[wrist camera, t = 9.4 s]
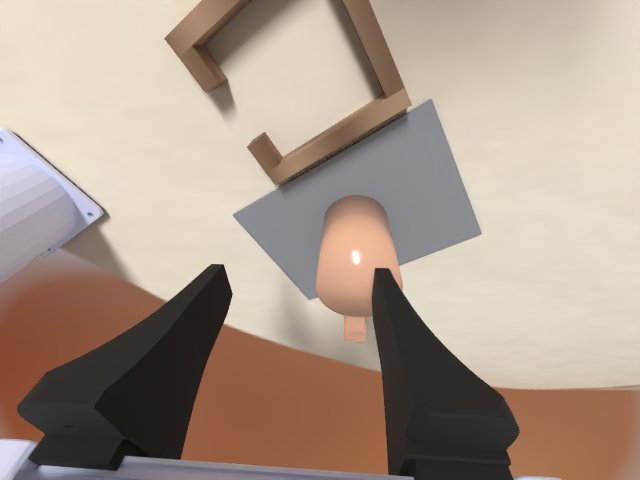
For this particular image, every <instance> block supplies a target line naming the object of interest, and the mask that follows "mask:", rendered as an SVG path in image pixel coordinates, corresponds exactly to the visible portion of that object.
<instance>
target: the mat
mask: <svg viewBox="0 0 640 480" xmlns="http://www.w3.org/2000/svg"><path fill="white" fill-rule="evenodd" d="M350 195H363V196H367V197H370V198H373V199H374V200H376V201H378V202H379V203H380V204H381V205H382V206H383V207H384V209H385V211H386V213H387V216H388V220H389V225H390V229H391V234H392V238H393V242H394V247H395V251H396V256H397V260H398V265H401V264H404V263H407V262H409V261H412V260H415V259H417V258H420V257H422V256H425V255H428V254H430V253H433V252H435V251H438V250H441V249H443V248H446V247H448V246H451V245H454V244H456V243H459V242H462V241H464V240H467V239H469V238H472V237H475V236H477V235H480V234H482V233H481V230H480V228H479V225H478V222H477V220H476V217H475V214H474V212H473V209H472V206H471V203H470V201H469V198H468V195H467V193H466V190H465V187H464V185H463V182H462V179H461V177H460V174H459V171H458V169H457V166H456V163H455V161H454V158H453V155H452V153H451V150H450V147H449V144H448V142H447V139H446V136H445V134H444V131H443V128H442V126H441V123H440V120H439V118H438V115H437V112H436V110H435V107H434V104H433V102H432V100H431V99H430V100H429V101H427V102H425V103H423V104H422V105H420V106H418V107H417V108H415V109H413V110H411V111H410V112H408V113H406V114H405V115H403V116H401V117H399V118H398V119H396V120H394V121H393V122H391V123H389V124H387V125H386V126H384V127H382V128H381V129H379V130H377V131H375V132H374V133H372V134H370V135H369V136H367V137H365V138H363V139H362V140H360V141H358V142H357V143H355V144H353V145H351V146H350V147H348V148H346V149H345V150H343V151H341V152H339V153H338V154H336V155H334V156H332V157H331V158H329V159H327V160H326V161H324V162H322V163H320V164H319V165H317V166H315V167H314V168H312V169H310V170H308V171H307V172H305V173H303V174H302V175H300V176H298V177H296V178H295V179H293V180H291V181H290V182H288V183H286V184H284V185H283V186H281V187H279V188H278V189H276V190H274V191H272V192H271V193H269V194H267V195H266V196H264V197H262V198H260V199H259V200H257V201H255V202H253V203H252V204H250V205H248V206H247V207H245V208H243V209H241V210H240V211H238V212H236V213H235V214H233V216H234V218H235V219H236V220H237V221H238V222H239V223H240V224H241V225H242V226H243V228H244V229H245V230H246V231H247V232H248V233H249V234H250V235H251V236H252V237H253V239H254V240H255V241H256V242H257V243H258V244H259V245H260V246H261V247H262V249H263V250H264V251H265V252H266V253H267V254H268V255H269V256H270V257H271V258H272V260H273V261H274V262H275V263H276V264H277V265H278V266H279V267H280V268H281V270H282V271H283V272H284V273H285V274H286V275H287V276H288V277H289V278H290V280H291V281H292V282H293V283H294V284H295V285H296V286H297V287H298V288H299V289H300V291H301V292H302V293H303V294H304V295H305V296H306V297H307V298H308V299H309V300H310V299H313V298H315V297H318V295H317V292H316V279H317V271H318V262H319V254H320V245H321V237H322V228H323V220H324V216H325V213H326V211H327V209H328V208H329V207H330V206H331V205H332V204H333V203H334V202H335V201H337V200H338V199H340V198H343V197H346V196H350Z"/></svg>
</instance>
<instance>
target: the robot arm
mask: <svg viewBox="0 0 640 480" xmlns="http://www.w3.org/2000/svg"><path fill="white" fill-rule="evenodd" d="M103 214H104V213H103V210H102V209H101V208H100V207H99V206H98V205H97V204H96V203H95V202H93V201H92V200H91V199H90V198H89V197H88V196H86V195H85V194H84V193H83V192H82V191H80V190H79V189H78V188H77V187H76V186H75V185H73V184H72V183H71V182H70V181H69V180H68V179H66V178H65V177H64V176H63V175H62V174H61V173H59V172H58V171H57V170H56V169H55V168H53V167H52V166H51V165H50V164H49V163H48V162H46V161H45V160H44V159H43V158H42V157H41V156H39V155H38V154H37V153H36V152H35V151H34V150H32V149H31V148H30V147H29V146H28V145H27V144H25V143H24V142H23V141H22V140H21V139H19V138H18V137H17V136H16V135H15V134H14V133H12V132H11V131H10V130H8V129H6V128H0V283H2V282H3V281H5V280H6V279H7V278H9V277H10V276H12V275H13V274H14V273H16V272H17V271H18V270H20V269H21V268H23V267H24V266H25V265H26V264H28V263H29V262H31V261H32V260H34V259H35V258H36V257H37V256H39V255H42V256H49V255H50V254H51V253H53V252H54V251H55V250H57V249H58V248H59V247H61V246H62V245H63V244H65V243H66V242H67V241H69V240H70V239H71V238H73V237H74V236H75V235H77V234H78V233H79V232H81V231H82V230H83V229H85V228H86V227H87V226H89V225H90V224H91V223H93V222H94V221H95V220H97V219H98V218H99V217H101V216H102V215H103ZM231 298H232V291H231V287H230V284H229V281H228V277H227V274H226V271H225V268H224V264H211V265H210V266H209V267H207V268H206V269H205V270H204V271H203V272H202V273H201V274H200V275H198V276H197V277H196V278H195V279H194V280H193V281H192V282H191V283H190V284H188V285H187V286H186V287H185V288H184V289H183V290H182V291H180V292H179V293H178V294H177V295H176V296H174V297H173V298H172V299H171V300H169V301H168V302H167V303H166V304H164V305H163V306H162V307H161V308H159V309H158V310H157V311H155V312H154V313H153V314H151V315H150V316H149V317H147V318H146V319H144V320H143V321H141V322H140V323H138V324H137V325H135V326H134V327H132V328H131V329H129V330H127V331H126V332H124V333H122V334H121V335H119V336H117V337H116V338H114V339H113V340H111V341H109V342H107V343H105V344H104V345H102V346H100V347H98V348H96V349H95V350H92V351H90V352H88V353H87V354H85V355H83V356H81V357H79V358H76V359H74V360H72V361H70V362H68V363H66V364H64V365H61V366H59V367H57V368H55V369H53V370H51V371H48V372H46V373H45V375H44V376H43V377H42V378H41V379H40V380H39V382H38V383H37V384H36V385H35V386H34V387H33V389H32V390H31V391H30V392H29V393H28V394H27V395H26V396H25V398H24V399H23V400H22V401H21V402H20V403H19V404H18V407H17V411H18V413H19V415H20V416H21V417H22V418H23V419H24V420H26V421H27V422H29V423H30V424H32V425H33V426H35V427H36V428H37V429H39V430H40V431H42V432H43V433H45V436H44V437H43V438H42V440H41V441H40V442H39V443H37V442H34V441H29V440H17V439H4V438H3V439H0V480H561V479H559V478H554V477H539V476H516V477H513V478H512V475H511V472H510V470H509V467H508V466H510V465H511V462H510V458H509V456H508V453H507V451H506V450H507V448H508V447H509V446H510V445H511V444H512V443H513V442H514V441H515V440H516V438H517V437H518V435H519V433H520V432H519V427H518V425H517V422H516V420H515V418H514V416H513V414H512V412H511V410H510V408H509V407H508V405H507V403H506V402H505V399H504V398H503V396H502V395H501V394H499V393H498V392H497V391H496V390H494V389H493V388H492V387H490V386H489V385H488V384H487V383H485V382H484V381H483V380H481V379H480V378H479V377H478V376H476V375H475V374H474V373H473V372H472V371H471V370H470V369H468V368H467V367H466V366H465V365H464V364H463V363H462V362H461V361H460V360H459V359H458V358H457V357H456V356H454V355H453V354H452V353H451V352H450V351H449V350H448V349H447V348H446V347H445V346H444V345H443V344H442V343H441V341H440V340H439V339H438V338H437V337H436V336H435V335H434V334H433V333H432V332H431V330H430V329H429V328H428V327H427V326H426V324H425V323H424V322H423V321H422V319H421V318H420V317H419V315H418V314H417V313H416V311H415V310H414V309H413V307H412V306H411V304H410V303H409V301H408V300H407V298H406V297H405V295H404V294H403V292H402V291H401V289H400V287H399V285H398V284H397V282H396V280H395V278H394V276H393V274H392V272H391V270H390V269H389V268H375V272H374V281H373V290H372V314H373V323H374V329H375V334H376V340H377V346H378V351H379V357H380V363H381V370H382V380H383V393H384V406H385V420H386V437H387V453H388V472H389V473H388V474H389V475H379V474H365V473H352V472H338V471H325V470H310V469H297V468H284V467H270V466H257V465H243V464H229V463H216V462H202V461H187V460H181V455H182V451H183V446H184V442H185V437H186V433H187V429H188V425H189V421H190V417H191V414H192V410H193V406H194V402H195V399H196V395H197V392H198V388H199V385H200V382H201V378H202V375H203V372H204V369H205V365H206V363H207V360H208V358H209V355H210V353H211V350H212V348H213V346H214V343H215V341H216V339H217V337H218V334H219V332H220V330H221V327H222V325H223V323H224V320H225V318H226V315H227V313H228V309H229V306H230V302H231Z"/></svg>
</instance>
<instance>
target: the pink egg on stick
mask: <svg viewBox="0 0 640 480" xmlns="http://www.w3.org/2000/svg"><path fill="white" fill-rule="evenodd" d="M375 268H389V269H390V270H391V272H392V274H393V276H394V278H395V280H396V282H397V284H398V285H399V287H400V289H401V291H402V290H403V283H402V278H401V273H400V269H399V265H398V260H397V256H396V251H395V247H394V242H393V238H392V234H391V229H390V225H389V220H388V216H387V213H386V211H385V209H384V207H383V206H382V205H381V204H380V203H379V202H378V201H376V200H374V199H373V198H370V197H367V196H363V195H350V196H346V197H343V198H340V199H338V200H337V201H335V202H334V203H333V204H332V205H331V206H330V207H329V208H328V209H327V211H326V213H325V216H324V220H323V228H322V237H321V245H320V254H319V262H318V271H317V279H316V292H317V295H318V297H319V299H320V300H321V302H322V303H323V304H324V305H325V306H326V307H328V308H329V309H331V310H332V311H334V312H336V313H339V314H342V315H344V342H365V341H366V320H365V317H367V316H373V314H372V290H373V281H374V272H375Z"/></svg>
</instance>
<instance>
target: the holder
mask: <svg viewBox="0 0 640 480" xmlns="http://www.w3.org/2000/svg"><path fill="white" fill-rule="evenodd" d="M250 1H251V0H202V1H201V2H200V3H199V4H198V5H197V6H196V7H195V8H194V9H193V10H192V11H191V12H190V13H189V14H188V15H187V16H186V17H185V18H184V19H183V20H182V21H181V22H180V23H179V24H178V25H177V26H176V27H175V28H174V29H173V30H172V31H171V32H170V33H169V34H168V35H167V36H166V37H165V38H164V39H165V40H166V41H167V43H168V44H169V45H170V47H171V48H172V49H173V50H174V52H175V53H176V54H177V56H178V57H179V58H180V60H181V61H182V62H183V64H184V65H185V66H186V68H187V69H188V70H189V72H190V73H191V74H192V75H193V77H194V78H195V79H196V81H197V82H198V83H199V85H200V86H201V87H202V89H203V90H204V91H205V93H207V92H209V91H211V90H214V89H216V88H217V87H218V86H219V85H220V84H222V83H223V82H224V81H225V80H227V78H226V76H225V75H224V74H223V72H222V71H221V69H220V68H219V66H218V65H217V64H216V62H215V61H214V59H213V58H212V56H211V55H210V54H209V52H208V51H207V49H206V48H205V47H204V45H203V44H204V43H205V42H207V41H208V40H209V39H210V38H211V37H212V36H213V35H214V34H215V33H216V32H217V31H218V30H220V29H221V28H222V27H223V26H224V25H225V24H226V23H227V22H228V21H229V20H230V19H231V18H232V17H234V16H235V15H236V14H237V13H238V12H239V11H240V10H241V9H242V8H243V7H244V6H245V5H247V4H248V3H249V2H250ZM343 3H344V5H345V7H346V9H347V11H348V14H349V16H350V18H351V20H352V23H353V25H354V27H355V29H356V31H357V34H358V36H359V38H360V40H361V43H362V45H363V47H364V49H365V51H366V54H367V56H368V58H369V60H370V63H371V65H372V67H373V69H374V71H375V74H376V76H377V78H378V80H379V82H380V85H381V87H382V89H383V91H384V94H383V95H381V96H380V97H378V98H377V99H375V100H373V101H372V102H370V103H369V104H367V105H365V106H364V107H362V108H361V109H359V110H358V111H356V112H354V113H353V114H351V115H350V116H348V117H346V118H345V119H343V120H342V121H340V122H338V123H337V124H335V125H334V126H332V127H330V128H329V129H327V130H326V131H324V132H322V133H321V134H319V135H318V136H316V137H314V138H313V139H311V140H310V141H308V142H307V143H305V144H303V145H302V146H300V147H299V148H297V149H295V150H294V151H292V152H291V153H289V154H287V155H286V156H284V157H282V156H281V154H280V153H279V152H278V150H277V149H276V147H275V146H274V144H273V143H272V142H271V140H270V139H269V137H268V136H267V135H266V133H265V132H264V133H262V134H261V135H259V136H258V137H257V138H255V139H254V140H253V141H252V142H251V143H250V144H249V145H248V146H247V148H248V149H249V151H250V152H251V153H252V155H253V156H254V157H255V158H256V160H257V161H258V162H259V164H260V165H261V166H262V168H263V169H264V170H265V172H266V173H267V174H268V176H269V177H270V178H271V180H272V181H273V182H274V183H275V185H277V184H278V183H280V182H282V181H284V180H285V179H287V178H289V177H290V176H292V175H294V174H295V173H297V172H299V171H300V170H302V169H304V168H306V167H307V166H309V165H311V164H312V163H314V162H316V161H317V160H319V159H321V158H323V157H324V156H326V155H328V154H329V153H331V152H333V151H334V150H336V149H338V148H340V147H341V146H343V145H345V144H346V143H348V142H350V141H351V140H353V139H355V138H356V137H358V136H360V135H362V134H363V133H365V132H367V131H368V130H370V129H372V128H373V127H375V126H377V125H379V124H380V123H382V122H384V121H385V120H387V119H389V118H390V117H392V116H394V115H395V114H397V113H399V112H401V111H402V110H404V109H406V108H407V107H409V106H411V105H412V104H411V102H410V99H409V97H408V94H407V92H406V90H405V87H404V85H403V82H402V80H401V77H400V75H399V73H398V70H397V68H396V65H395V63H394V60H393V58H392V56H391V53H390V51H389V48H388V46H387V43H386V41H385V39H384V36H383V34H382V31H381V29H380V26H379V24H378V22H377V19H376V17H375V14H374V12H373V9H372V7H371V5H370V2H369V0H343Z"/></svg>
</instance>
